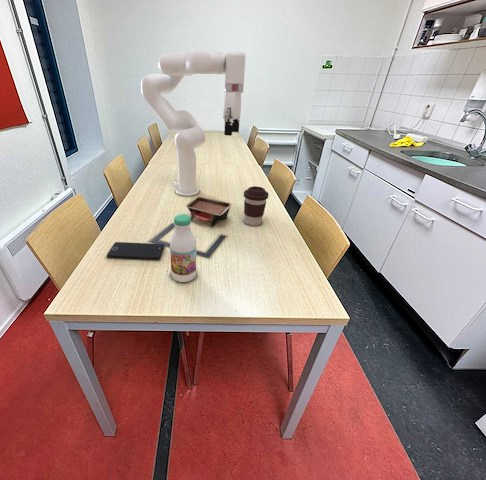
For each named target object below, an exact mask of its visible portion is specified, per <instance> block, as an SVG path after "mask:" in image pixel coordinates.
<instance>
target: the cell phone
mask: <svg viewBox="0 0 486 480" xmlns="http://www.w3.org/2000/svg"><path fill="white" fill-rule="evenodd" d="M164 249H165V246H164V244H157V243H151V242H150V243H148V242H124V241H115V242H114V244H113V245H112V246H111V248H110V249H109V251H108V252H107V253H106V257H107V258H114V259H133V260H134V259H135V260H136V259H137V260H157V261H159V260H161V257H162V255H163V252H164Z"/></svg>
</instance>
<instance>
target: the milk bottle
mask: <svg viewBox="0 0 486 480" xmlns="http://www.w3.org/2000/svg"><path fill="white" fill-rule="evenodd" d="M191 222H192V220H191V215H188V214H184V213H180V214H176V215H175V216H174V217H173V223H174V225H175V226H174V231H173V233H172V235H171V237H170V241H169V243H170V247H169V255H170V256H169V257H170V273H171V277H172V279H173V280H174V281H176V282H180V283H188V282H191V281H192V280H194V279H195V278H196V276H197V254H196V251H197V241H196V238H195V235H194V233H193V231H192V229H191V225H192V224H191Z"/></svg>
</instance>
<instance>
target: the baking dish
mask: <svg viewBox="0 0 486 480" xmlns="http://www.w3.org/2000/svg"><path fill="white" fill-rule="evenodd" d="M185 206H186V208H187V209H188V211H189V212H190V218H191V221H193V220H194V219H197V220H199V221H202V222H204V223H206V224H208V225H210V226H211V227H214V226H215V225H216V224H217V223H218V222H221V221H224V220H226V219H227V218H228V215H229V212H230V210H231V206H232V203H231V202H228V201H221V200H219V199H218V200H217V199H214V198H213V199H212V198H207V197H203V196H197V197H195V198H193V199H192V200H190V201H189V202H188V203H187V204H186V205H185Z"/></svg>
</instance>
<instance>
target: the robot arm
mask: <svg viewBox="0 0 486 480" xmlns="http://www.w3.org/2000/svg"><path fill="white" fill-rule="evenodd" d="M158 68H159V70H160V71H161V73H148V74H146V75H144V76H143V77H142V79H141V82H140V91H141V94H142V97H143V99H144V101H145V102H146V104H147V105H148V107H149V108H150V109H151V110H152V111H153V112H154V113H155V115H156V116H157V117H158V119H159V120H160V121H161V123H162V124H163V125H164V127H165V128H166V129H167V131H169V132H171V133H176V134H175V135H174V144H175V150H176V156H177V157H176V158H177V181H173V182H172V187H175V188H176V189H175V193H176V194H177V195H179V196H183V197H191V196H196V195H198V194H199V193H200V189H199V187H197V156H196V155H197V154H196V152H195V150H194V149H196V148H199V147H201V146H203V145H204V144H205V143H206V134H205V131H204V129H203V128H202V126H201V125H200V124H199V123H198V121H197V120H196V118H195V117H194V116H193V115H192V114H191V113H190V112H189V111H187V110H185V109H180V110H178V109H175V108H174V106H173V105H172V104H171V102H170V101H169V100H168V99H166V98H165V97H164V96H162V95H169V94H171V93H173V92H174V91H175V89H176V88H177V87H178V85H180V82H181V81H182V80H183V78H185V77H186V76H188V77H189V76H190V77H191V76H193V75H196V74H197V75H199V74H200V75H224V93H225V94H224V100H223V111H222V112H223V113H222V118H223V120H224V133H223V134H224V136H230V137H231V136H232V135H233V133H240V123H241V122H240V118H241V113H242V94H243V93H244V88H245V87H244V86H245V71H246V53H244V52H242V51H229V52H222V51H216V50H195V51H179V52H176V51H175V52H166V53H163V54H162V55H161V56H159V59H158Z"/></svg>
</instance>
